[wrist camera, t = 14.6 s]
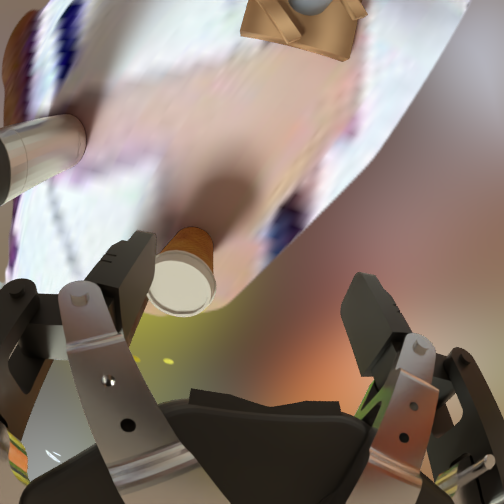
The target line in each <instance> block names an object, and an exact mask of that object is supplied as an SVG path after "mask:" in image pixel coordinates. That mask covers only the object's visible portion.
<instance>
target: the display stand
mask: <svg viewBox="0 0 504 504" xmlns="http://www.w3.org/2000/svg"><path fill="white" fill-rule="evenodd" d="M361 2H362V0H332V1H331V3H330V4H329V5H328V6H327V7H326V9H325V10H324V11H323V12H322V13H320V14H318V15H313V16H308V15H303V14H300V13H298V12H296V11H295V10H294V9H293V8H292V7H291V6H290V4H289V2H288V0H248V3H247V7H246V11H245V14H244V18H243V21H242V25H241V29H240V34H241V36H243V37H249V38H255V39H260V40H265V41H270V42H275V43H279V44H283V45H287V46H291V47H295V48H299V49H303V50H306V51H310V52H313V53H317V54H320V55H323V56H326V57H330V58H333V59H336V60H339V61H341V62H343V61H345V60H348V59H349V58H350V54H351V49H352V45H353V40H354V36H355V31H356V26H357V21H358V19H360V18H364V17H365V16H367V15H368V14H367V12H366V11H365V9H364V7H363V6H362V4H361Z"/></svg>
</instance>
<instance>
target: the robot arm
mask: <svg viewBox="0 0 504 504" xmlns="http://www.w3.org/2000/svg"><path fill="white" fill-rule="evenodd" d="M85 146H86V135H85V130H84V127H83V125H82V124H81V122H80V121H79V120H78V119H77V118H76V117H75V116H73V115H70V114H62V115H56V116H50V117H44V118H40V119H35V120H30V121H26V122H22V123H17V124H13V125H10V126H6V127H2V128H0V206H2V205H4V204H5V203H7V202H9V201H10V200H12V199H14V198H15V197H17V196H18V195H20V194H22V193H24V192H25V191H27V190H29V189H31V188H33V187H34V186H36V185H38V184H40V183H42V182H44V181H46V180H48V179H49V178H51V177H53V176H55V175H57V174H60V173H62V172H64V171H66V170H68V169H70V168H72V167H74V166H75V165H76V164H77V163H78V162H79V161H80V160H81V158H82V156H83V154H84V151H85ZM155 258H156V234H155V233H150V232H145V231H139V230H137V231H136V232H135V233H134V234H133V235H132V236H131V238H130V239H129V240H128V241H124V240H121V241H120V242H118V243H116V244H114V245H112V246H111V247H110V248H109V250H108V251H107V252H106V254H104V256H103V257H102V258H101V260H100V261H99V262H98V263H97V264H96V265H95V267H94V268H93V269H92V271H91V272H90V273H89V274H88V276H87V277H86V278H85V279H84V281H74V282H71V283H69V284H67V285H65V286H64V287H63V288H62V289H61V290H60V292H59V294H38V292H37V289H36V285H35V284H34V282H32V281H31V280H29V279H15V280H12V281H10V282H9V283H7V284H6V285H4V286H3V288H2V289H1V290H0V504H504V419H503V417H502V415H501V412H500V410H499V408H498V406H497V403H496V401H495V399H494V397H493V395H492V393H491V391H490V389H489V387H488V385H487V383H486V381H485V379H484V377H483V375H482V373H481V371H480V369H479V367H478V365H477V364H476V362H475V360H474V359H473V357H472V356H471V355H470V353H468V352H467V351H466V350H464V349H462V348H459V347H456V348H453V350H452V351H451V352H450V353H449V355H448V356H444V355H441V354H437V353H436V350H435V347H434V346H433V344H432V343H431V342H430V341H429V340H428V339H427V338H426V337H424V336H422V335H420V334H417V333H412V331H411V329H410V327H409V325H408V324H407V322H406V320H405V318H404V317H403V315H402V313H400V310H399V308H398V306H396V303H395V301H394V300H393V298H392V297H391V295H390V294H389V293H388V292H386V290H384V289H383V287H382V285H381V284H380V282H379V280H378V279H377V277H376V276H375V275H371V274H366V273H361V272H358V273H356V274H355V276H354V278H353V280H352V282H351V285H350V287H349V289H348V291H347V293H346V295H345V297H344V300H343V302H342V304H341V318H342V321H343V323H344V326H345V329H346V332H347V335H348V337H349V341H350V344H351V346H352V349H353V352H354V355H355V358H356V361H357V365H358V368H359V370H360V374H361V377H371V376H372V377H374V380H373V382H372V383H371V384H370V386H369V388H368V390H367V392H366V394H365V396H364V398H363V400H362V402H361V404H360V406H359V408H358V410H357V412H356V414H355V415H354V416H352V415H349V414H346V413H344V412H341V409H340V405H339V401H303V402H298V403H293V404H287V405H281V406H275V407H267V406H264V405H260V404H257V403H254V402H251V401H248V400H245V399H242V398H238V397H235V396H233V395H230V394H222V393H216V392H210V391H204V390H198V389H192V388H191V391H190V397H189V399H178V400H171V401H167V402H163V403H160V404H157V402H156V401H155V399H154V397H153V395H152V393H151V392H150V390H149V388H148V386H147V384H146V382H145V380H144V378H143V376H142V374H141V372H140V370H139V368H138V366H137V364H136V362H135V360H134V358H133V356H132V354H131V352H130V350H129V347H128V345H127V343H126V340H127V337H128V335H129V333H130V330H131V328H132V326H133V324H134V321H135V319H136V317H137V315H138V312H139V310H140V308H141V306H142V304H143V302H144V299H145V297H146V295H147V293H148V291H149V289H150V287H151V285H152V282H153V279H154V274H155ZM17 342H18V345H17V346H16V348H15V350H14V352H13V353H12V355H11V357H10V359H9V356H10V354H11V352H12V350H13V349H14V347H15V345H16V344H17ZM54 359H57V360H69V364H70V368H71V372H72V375H73V379H74V382H75V385H76V389H77V392H78V395H79V398H80V401H81V404H82V407H83V410H84V413H85V415H86V418H87V421H88V424H89V426H90V429H91V431H92V434H93V436H94V439H95V441H96V443H95V444H94V445H92V446H90V447H89V448H87V449H86V450H84V451H82V452H81V453H79V454H77V455H76V456H74V457H72V458H71V459H69V460H67V461H66V462H64V463H62V464H60V465H59V466H57V467H55V468H53V469H52V470H50V471H48V472H46V473H44V474H43V475H41V476H39V477H37V478H35V479H34V480H33V481H31V482H30V480H29V478H28V474H27V469H28V465H27V463H28V458H27V452H26V449H25V448H24V446H23V444H22V443H21V440H22V437H23V433H24V430H25V428H26V425H27V422H28V419H29V417H30V414H31V411H32V409H33V406H34V403H35V401H36V399H37V396H38V394H39V391H40V389H41V387H42V384H43V382H44V380H45V378H46V375H47V373H48V371H49V369H50V367H51V364H52V362H53V360H54ZM455 393H456V394H457V396H458V399H459V401H460V403H461V406H462V408H463V415H462V418H461V420H460V421H459V422H458V423H457V424H456V425H455V426H454V425H453V422H452V419H451V417H450V414H449V411H448V409H447V406H446V402H447V401H448V400H449V399H450V398H451V397H452V396H453V395H454V394H455ZM426 449H427V453H428V457H429V461H430V465H431V469H432V473H433V478H434V482H435V483H433V481H431V480H430V479H429V478H428V477H427V476H426V475H424V474H423V473H422V472H421V471H420V469H421V466H422V462H423V459H424V456H425V452H426Z"/></svg>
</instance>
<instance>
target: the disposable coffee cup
mask: <svg viewBox="0 0 504 504" xmlns="http://www.w3.org/2000/svg"><path fill="white" fill-rule="evenodd" d="M215 293H216V281H215V278H214V275H213V242H212V239H211V237H210V236H209V235H208V233H206V232H205V231H204V230H202V229H200V228H197V227H187V228H184V229H182V230H180V231H179V232H178V233H177V234H176V236H175V237H174V238H173V239H172V240H171V241H170V242H169V243H168V244H167V246H166V247H165V248H164V249H163V250H162V251H161V252H160V254H158V255H156V258H155V274H154V279H153V282H152V285H151V287H150V289H149V291H148V293H147V297H148V299H149V300H150V302H151V303H152V304H153V305H154V306H155V307H156V308H158V309H159V310H161V311H162V312H164V313H166V314H169V315H173V316H177V317H190V316H193V315H196V314H199V313H200V312H202V311H203V310H204V309H205V308H206V307H207V306H208V305H209V304H210V303H211V302H212V300H213V299H214V296H215Z"/></svg>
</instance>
